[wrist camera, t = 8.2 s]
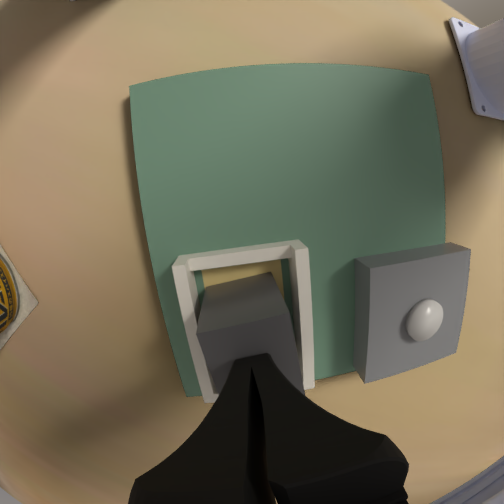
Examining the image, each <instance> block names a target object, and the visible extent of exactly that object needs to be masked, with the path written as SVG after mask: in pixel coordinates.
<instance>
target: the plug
mask: <svg viewBox="0 0 504 504" xmlns="http://www.w3.org/2000/svg"><path fill="white" fill-rule="evenodd" d="M196 335H197V338H198V341H199V344H200V347H201V349H202V352H203V355H204V358H205V360H206V363H207V366H208V368H209V371H210V374H211V376H212V379H213V382H214V384H215V387H216V389H217V392H218V394H220V392H221V390H222V388H223V386H224V384H225V382H226V380H227V377H228V375H229V372H230V370H231V367H232V364H233V362H234V361H235V360H236V359H241V358H245V357H250V356H255V355H259V354H264V353H268V354H270V355H271V357H272V359H273V361H274V363H275V364H276V366H277V367H278V368H279V370H280V371H281V372H282V373H283V375H284V376H285V377H286V378H287V379H288V380H289V381H290V382H291V383H292V384H293V385H294V386H295V387H296V388H297V389H298V390H299V391H300V392H301V393H302V394H304V395H305V391H304V386H303V380H302V375H301V370H300V364H299V359H298V354H297V348H296V343H295V338H294V333H293V328H292V323H291V318H290V313H289V310H288V308H287V306H286V304H285V301H284V299H283V297H282V295H281V292H280V290H279V288H278V286H277V284H276V281H275V279H274V277H273V275H272V272H267V273H262V274H258V275H254V276H250V277H246V278H241V279H237V280H233V281H229V282H224V283H220V284H216V285H211V286H207V287H206V288H205V293H204V298H203V302H202V307H201V312H200V317H199V321H198V326H197V331H196Z"/></svg>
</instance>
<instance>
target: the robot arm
mask: <svg viewBox="0 0 504 504" xmlns="http://www.w3.org/2000/svg"><path fill="white" fill-rule="evenodd" d="M449 23H450V26H451V29H452V32H453V35H454V38H455V41H456V44H457V47H458V50H459V54H460V57H461V61H462V64H463V68H464V72H465V76H466V80H467V84H468V89H469V93H470V98H471V103H472V108H473V111H474V112H475V113H476V114H477V115H481V116H486V117H490V118H495V119H499V120H503V121H504V18H503V19H501V20H499V21H496V22H494V23H492V24H489V25H487V26H485V27H483V28H478V27H476V26H474V25H471V24H469V23H467V22H464V21H462V20H459V19H457V18H454V17H452V18H450V19H449ZM408 468H409V464H408V462H407V460H406V458H405V456H404V455H403V453H402V452H401V451H400V450H399V448H398V447H397V446H396V445H395V444H394V443H393V442H392V441H391V440H390V439H389V438H388V437H387V436H386V435H384V434H380V433H377V432H373V431H370V430H366V429H363V428H360V427H358V426H356V425H353V424H351V423H348V422H346V421H344V420H342V419H340V418H338V417H337V416H335V415H333V414H331V413H329V412H327V411H326V410H324V409H323V408H321V407H319V406H318V405H317V404H315V403H314V402H312V401H311V400H310V399H308V398H307V397H306V396H305V395H304V394H302V393H301V392H300V391H299V390H298V389H297V388H296V387H295V386H294V385H293V384H292V383H291V382H290V381H289V380H288V379H287V378H286V377H285V376H284V375H283V373H282V372H281V371H280V370H279V368H278V367H277V366H276V364H275V363H274V361H273V359H272V357H271V355H270V354H268V353H264V354H259V355H255V356H250V357H245V358H241V359H236V360H235V361H234V362H233V364H232V367H231V370H230V372H229V375H228V377H227V380H226V382H225V384H224V386H223V388H222V390H221V392H220V394H219V396H218V398H217V399H216V401H215V403H214V404H213V406H212V408H211V410H210V411H209V413H208V414H207V416H206V417H205V418H204V420H203V421H202V422H201V424H200V425H199V426H198V428H197V429H196V430H195V431H194V432H193V433H192V435H191V436H190V437H189V438H188V439H187V440H186V441H185V442H184V443H183V444H182V445H181V446H180V447H179V448H178V449H177V450H176V451H175V452H173V453H172V454H171V455H170V456H169V457H167V458H166V459H165V460H164V461H162V462H161V463H160V464H158V465H157V466H155V467H154V468H152V469H151V470H149V471H148V472H146V473H145V474H143V475H141V476H140V477H138V478H136V479H135V482H134V485H133V487H132V490H131V493H130V497H129V502H128V504H276V501H275V498H276V500H277V503H278V504H408V502H407V500H406V499H407V498H408V495H407V493H406V491H405V489H404V487H403V485H404V482H405V479H406V476H407V473H408ZM430 504H504V456H503V457H501V458H500V459H499V460H498V461H496V462H495V463H494V464H492V465H491V466H489V467H488V468H487V469H485V470H484V471H482V472H481V473H480V474H478V475H477V476H475V477H474V478H472V479H471V480H469V481H468V482H466V483H464V484H463V485H461V486H460V487H458V488H456V489H455V490H453V491H451V492H450V493H448V494H446V495H444V496H443V497H441V498H439V499H437V500H435V501H433V502H432V503H430Z"/></svg>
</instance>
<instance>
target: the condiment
mask: <svg viewBox="0 0 504 504" xmlns="http://www.w3.org/2000/svg"><path fill="white" fill-rule="evenodd" d="M37 304H38V301H37V300H36V298H35V297H34V296H33V294H32V293H31V291H30V290H29V289H28V287H27V285H26V284H25V283H24V281H23V279H22V278H21V276H20V274H19V273H18V272H17V270H16V269H15V267H14V265H13V264H12V262H11V261H10V259H9V258H8V256H7V255H6V253H5V251H4V250H3V248H2V246H1V245H0V350H1V348H2V347H3V346H4V344H5V343H6V342H7V341H8V339H9V338H10V337H11V335H12V334H13V333H14V332H15V331H16V329H17V328H18V327H19V326H20V324H21V323H22V322H23V321H24V320H25V318H26V317H27V316H28V315H29V314H30V312H31V311H32V310H33V309H34V308H35V307H36V305H37Z"/></svg>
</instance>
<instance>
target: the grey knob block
mask: <svg viewBox="0 0 504 504" xmlns="http://www.w3.org/2000/svg"><path fill="white" fill-rule="evenodd" d="M470 253H471V249H469V248H466V247H463V246H460V245H457V244H454V243H451V242H449V243H443V244H437V245H432V246H426V247H420V248H414V249H408V250H402V251H396V252H389V253H383V254H377V255H371V256H364V257H358V258H354V261H355V330H354V355H353V366H354V368H355V369H356V371H357V373H358V374H359V376H360V377H361V379H362V380H363V382H364V384H365V383H369V382H372V381H376V380H379V379H383V378H386V377H389V376H393V375H396V374H399V373H402V372H405V371H408V370H411V369H414V368H417V367H420V366H423V365H425V364H428V363H431V362H433V361H436V360H439V359H441V358H444V357H446V356H449V355H451V354H454V353H456V350H457V346H458V341H459V336H460V331H461V326H462V320H463V314H464V308H465V301H466V294H467V286H468V277H469V267H470Z"/></svg>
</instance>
